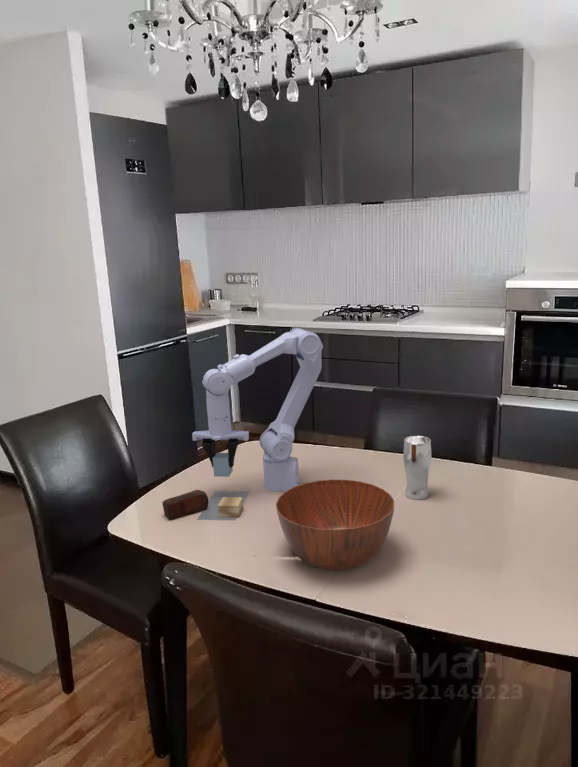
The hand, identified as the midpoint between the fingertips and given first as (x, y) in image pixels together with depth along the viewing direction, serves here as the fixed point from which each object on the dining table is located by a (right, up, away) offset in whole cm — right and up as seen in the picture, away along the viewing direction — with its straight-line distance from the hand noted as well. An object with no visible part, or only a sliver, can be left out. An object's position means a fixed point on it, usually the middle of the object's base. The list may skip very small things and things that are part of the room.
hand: (223, 466), depth 157 cm
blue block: (0, -2, 0) cm, 2 cm away
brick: (-8, -11, -7) cm, 15 cm away
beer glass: (+50, -7, -1) cm, 51 cm away
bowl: (+27, -15, -27) cm, 42 cm away
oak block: (+3, -10, -8) cm, 14 cm away
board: (+1, -10, -3) cm, 11 cm away
